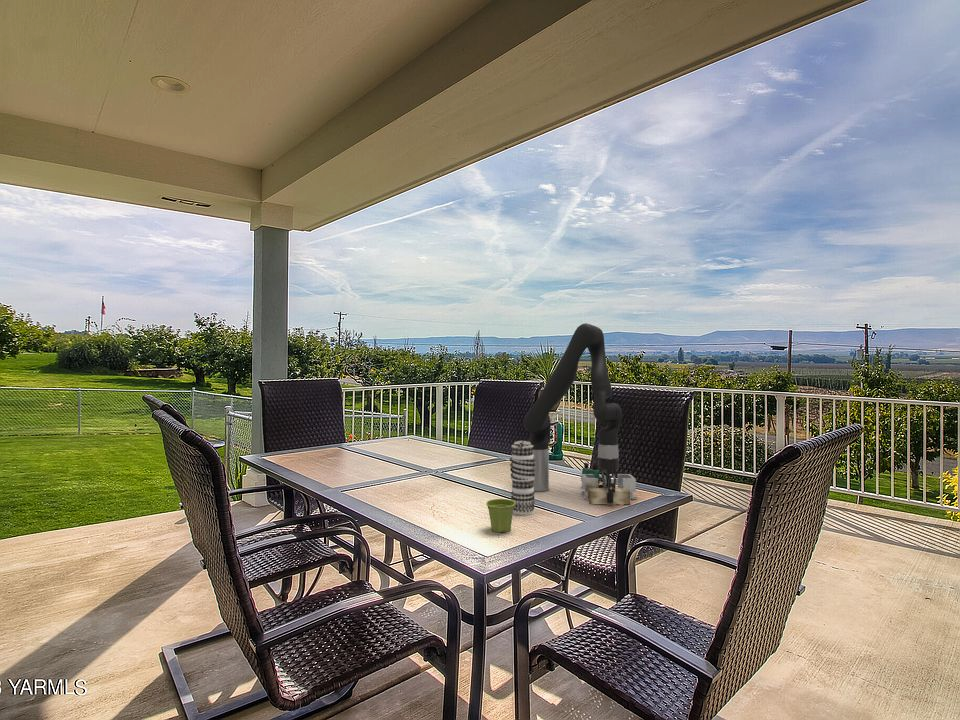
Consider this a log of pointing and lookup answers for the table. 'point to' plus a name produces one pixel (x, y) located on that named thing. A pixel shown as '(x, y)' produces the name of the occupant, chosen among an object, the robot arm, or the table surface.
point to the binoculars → (592, 472)
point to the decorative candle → (522, 477)
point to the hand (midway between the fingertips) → (608, 500)
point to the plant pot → (500, 514)
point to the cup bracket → (623, 482)
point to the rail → (600, 496)
